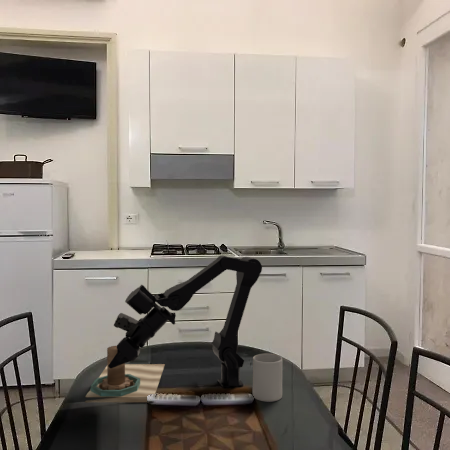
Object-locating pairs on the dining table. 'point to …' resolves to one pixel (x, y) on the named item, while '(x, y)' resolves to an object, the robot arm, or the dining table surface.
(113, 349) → the gear
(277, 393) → the mug
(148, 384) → the gear board
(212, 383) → the dining table surface
